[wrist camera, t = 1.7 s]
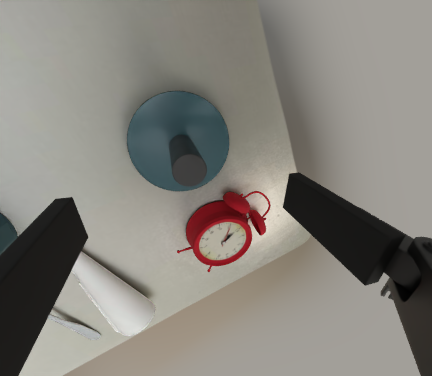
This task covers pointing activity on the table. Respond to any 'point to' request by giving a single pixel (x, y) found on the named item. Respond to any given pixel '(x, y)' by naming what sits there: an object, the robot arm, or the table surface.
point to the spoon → (77, 328)
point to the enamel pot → (6, 233)
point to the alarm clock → (223, 229)
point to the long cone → (114, 297)
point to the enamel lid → (178, 141)
